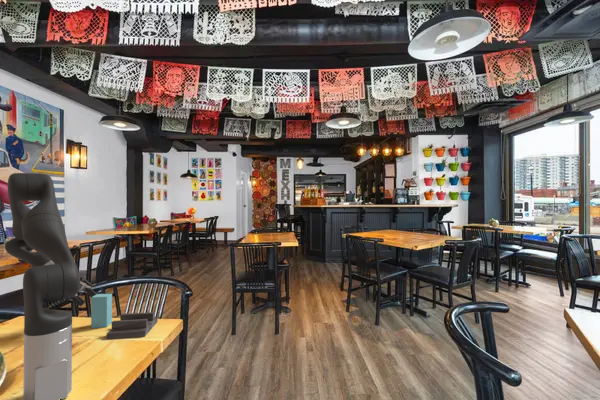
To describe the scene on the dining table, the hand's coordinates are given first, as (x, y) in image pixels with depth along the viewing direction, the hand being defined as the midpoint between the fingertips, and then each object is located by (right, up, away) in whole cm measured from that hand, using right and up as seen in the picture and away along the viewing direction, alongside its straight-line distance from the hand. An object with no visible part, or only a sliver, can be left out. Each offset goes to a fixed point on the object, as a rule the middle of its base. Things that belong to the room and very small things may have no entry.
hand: (89, 300), depth 114 cm
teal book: (+4, -10, +1) cm, 11 cm away
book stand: (+19, -10, -3) cm, 22 cm away
